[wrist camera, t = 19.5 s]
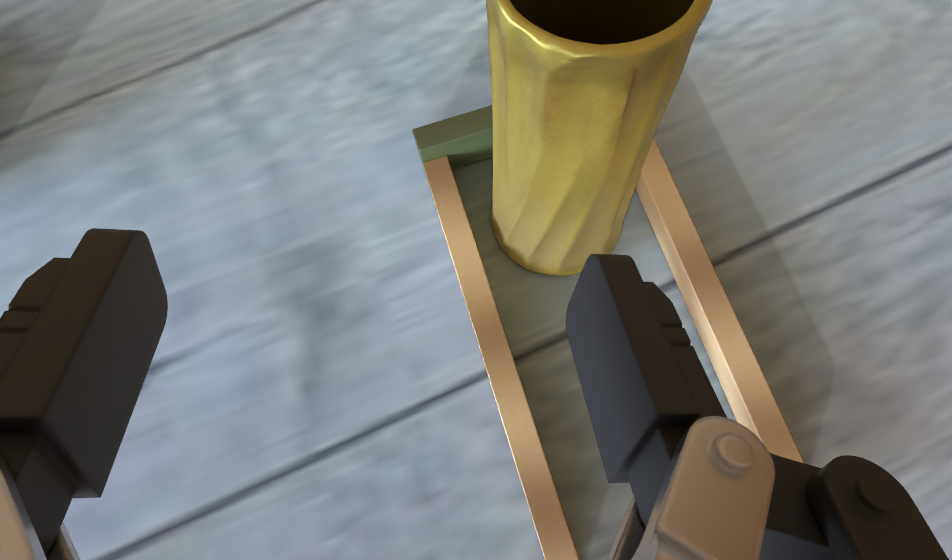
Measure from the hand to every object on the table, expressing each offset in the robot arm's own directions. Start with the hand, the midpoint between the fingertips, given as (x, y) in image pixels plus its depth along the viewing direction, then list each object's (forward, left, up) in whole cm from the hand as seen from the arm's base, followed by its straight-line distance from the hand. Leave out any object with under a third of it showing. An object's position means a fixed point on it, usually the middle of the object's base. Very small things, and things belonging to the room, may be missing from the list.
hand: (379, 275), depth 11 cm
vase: (0, +9, -14) cm, 17 cm away
